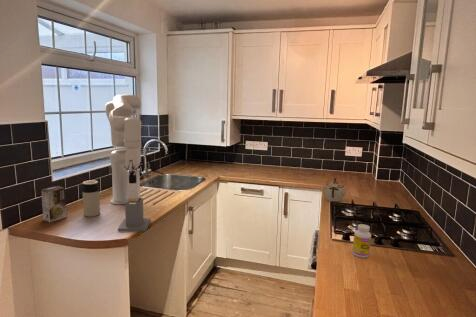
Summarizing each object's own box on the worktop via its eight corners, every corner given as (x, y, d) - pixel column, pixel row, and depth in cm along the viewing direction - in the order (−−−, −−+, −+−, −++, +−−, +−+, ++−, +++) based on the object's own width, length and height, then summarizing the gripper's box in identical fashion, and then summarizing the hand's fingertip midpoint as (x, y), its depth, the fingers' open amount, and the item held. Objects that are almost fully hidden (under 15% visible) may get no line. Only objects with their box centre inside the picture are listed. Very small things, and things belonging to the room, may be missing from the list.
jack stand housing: (124, 221, 162) (123, 196, 160) (150, 221, 164) (150, 196, 161) (117, 231, 149) (116, 204, 147) (146, 231, 151) (145, 204, 148)
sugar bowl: (323, 194, 222) (325, 174, 219) (346, 197, 217) (348, 176, 214) (319, 202, 204) (321, 180, 202) (343, 206, 199) (346, 183, 196)
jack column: (130, 208, 157) (129, 168, 153) (140, 208, 158) (139, 168, 154) (128, 211, 152) (127, 170, 149) (138, 211, 153) (137, 171, 149)
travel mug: (100, 215, 169) (99, 183, 165) (84, 217, 165) (82, 184, 162) (99, 211, 176) (97, 179, 172) (83, 212, 172) (81, 180, 169)
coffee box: (60, 214, 168) (58, 185, 165) (67, 217, 165) (65, 187, 162) (42, 219, 160) (40, 189, 157) (49, 222, 157) (47, 191, 154)
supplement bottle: (358, 259, 131) (361, 229, 129) (348, 251, 137) (351, 223, 135) (372, 257, 133) (375, 228, 130) (362, 250, 139) (365, 222, 137)
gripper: (128, 141, 157) (129, 177, 160) (120, 146, 141) (121, 186, 144) (144, 142, 158) (145, 177, 161) (137, 147, 141) (138, 186, 145)
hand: (133, 181), depth 152 cm, fingers closed on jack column, 4 cm apart
